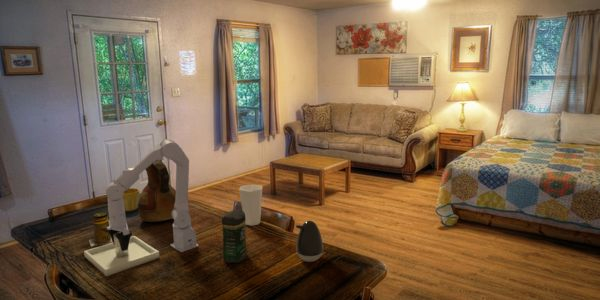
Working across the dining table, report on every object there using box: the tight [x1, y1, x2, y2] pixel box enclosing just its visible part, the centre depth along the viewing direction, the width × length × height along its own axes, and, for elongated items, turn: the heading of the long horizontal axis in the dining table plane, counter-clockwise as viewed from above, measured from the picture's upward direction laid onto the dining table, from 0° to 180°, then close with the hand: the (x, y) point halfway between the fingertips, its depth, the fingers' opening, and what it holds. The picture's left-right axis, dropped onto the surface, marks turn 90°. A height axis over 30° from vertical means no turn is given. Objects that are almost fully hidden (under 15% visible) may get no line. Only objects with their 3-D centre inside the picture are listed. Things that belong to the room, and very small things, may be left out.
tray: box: [83, 235, 160, 277], centre depth 162 cm, size 22×20×2 cm
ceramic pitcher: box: [137, 160, 176, 223], centre depth 198 cm, size 20×20×30 cm
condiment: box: [88, 212, 113, 247], centre depth 176 cm, size 7×8×12 cm
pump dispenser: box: [295, 220, 324, 263], centre depth 156 cm, size 10×10×15 cm
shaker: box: [113, 231, 129, 258], centre depth 161 cm, size 5×5×9 cm
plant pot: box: [123, 187, 141, 212], centre depth 216 cm, size 10×10×10 cm
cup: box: [238, 183, 264, 226], centre depth 193 cm, size 11×10×17 cm
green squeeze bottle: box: [221, 209, 248, 264], centre depth 158 cm, size 10×8×19 cm
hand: (120, 247), depth 161 cm, fingers open, 7 cm apart
